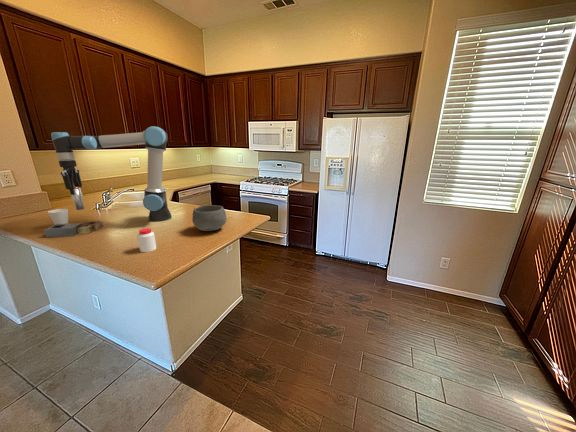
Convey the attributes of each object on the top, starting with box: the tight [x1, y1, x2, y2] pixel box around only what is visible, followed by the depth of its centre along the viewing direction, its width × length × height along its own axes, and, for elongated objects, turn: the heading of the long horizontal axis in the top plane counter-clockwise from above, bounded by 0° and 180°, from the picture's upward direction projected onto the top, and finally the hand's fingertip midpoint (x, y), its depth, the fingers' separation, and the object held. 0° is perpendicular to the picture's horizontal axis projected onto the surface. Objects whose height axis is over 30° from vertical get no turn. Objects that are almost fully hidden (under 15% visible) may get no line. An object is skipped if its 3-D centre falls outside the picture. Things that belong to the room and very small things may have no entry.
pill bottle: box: [136, 227, 157, 253], centre depth 125 cm, size 8×8×11 cm
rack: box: [81, 220, 104, 232], centre depth 153 cm, size 10×8×4 cm
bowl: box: [191, 204, 228, 232], centre depth 154 cm, size 21×21×15 cm
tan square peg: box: [76, 225, 93, 235], centre depth 146 cm, size 11×4×4 cm, turn 103°
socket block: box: [44, 222, 83, 238], centre depth 145 cm, size 14×10×5 cm
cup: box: [47, 208, 69, 225], centre depth 156 cm, size 10×10×11 cm
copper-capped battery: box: [73, 186, 86, 211], centre depth 146 cm, size 4×4×14 cm
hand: (77, 198), depth 146 cm, fingers closed on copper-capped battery, 4 cm apart
